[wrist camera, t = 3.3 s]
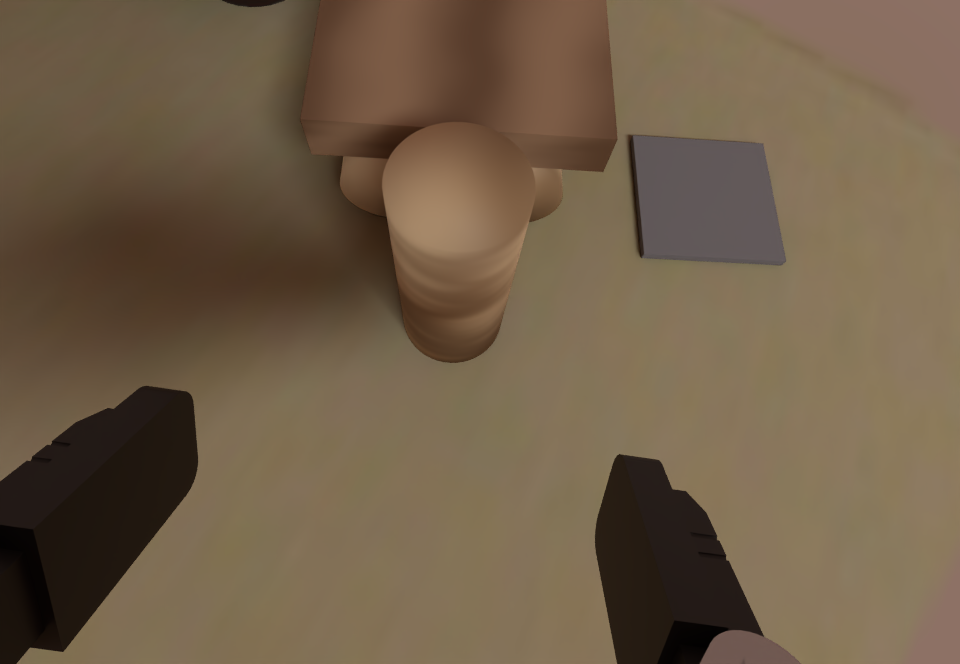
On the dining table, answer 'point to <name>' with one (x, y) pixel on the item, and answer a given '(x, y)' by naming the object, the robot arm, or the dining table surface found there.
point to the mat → (705, 201)
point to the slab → (461, 84)
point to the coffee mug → (253, 2)
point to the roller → (456, 233)
